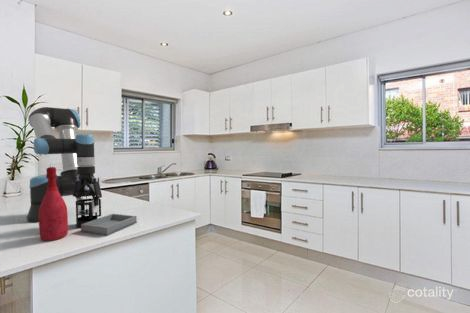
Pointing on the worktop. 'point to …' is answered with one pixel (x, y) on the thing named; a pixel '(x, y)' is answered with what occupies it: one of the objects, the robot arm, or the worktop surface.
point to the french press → (84, 212)
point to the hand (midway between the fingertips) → (87, 211)
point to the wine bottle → (52, 211)
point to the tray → (108, 224)
